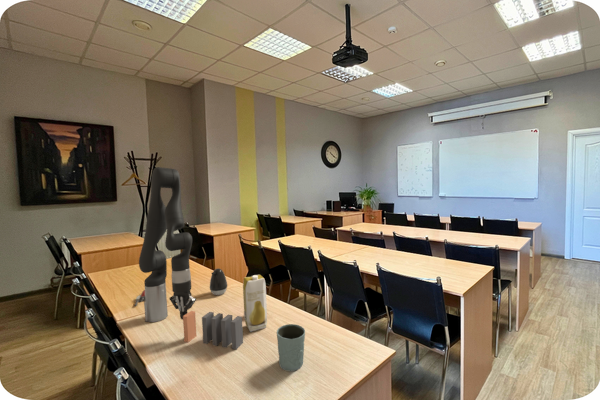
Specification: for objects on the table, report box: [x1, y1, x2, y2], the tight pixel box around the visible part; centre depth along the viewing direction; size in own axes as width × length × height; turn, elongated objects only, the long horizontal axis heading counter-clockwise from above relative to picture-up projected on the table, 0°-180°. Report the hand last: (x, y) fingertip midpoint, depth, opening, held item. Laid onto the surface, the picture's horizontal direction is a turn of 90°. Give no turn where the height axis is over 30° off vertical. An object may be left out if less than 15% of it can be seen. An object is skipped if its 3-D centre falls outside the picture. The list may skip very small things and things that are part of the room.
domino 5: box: [231, 315, 244, 351], centre depth 112 cm, size 2×5×11 cm, turn 160°
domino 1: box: [182, 310, 197, 343], centre depth 118 cm, size 2×5×11 cm, turn 160°
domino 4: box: [221, 314, 233, 349], centre depth 113 cm, size 2×5×11 cm, turn 160°
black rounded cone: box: [209, 268, 228, 296], centre depth 166 cm, size 10×10×15 cm
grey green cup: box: [276, 323, 306, 372], centre depth 100 cm, size 10×10×12 cm
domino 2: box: [201, 311, 215, 345], centre depth 116 cm, size 2×5×11 cm, turn 160°
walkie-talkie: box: [134, 289, 146, 307], centre depth 162 cm, size 9×4×20 cm
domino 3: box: [211, 312, 224, 347], centre depth 115 cm, size 2×5×11 cm, turn 161°
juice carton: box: [242, 274, 268, 333], centre depth 125 cm, size 9×8×24 cm
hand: (183, 318), depth 120 cm, fingers closed
